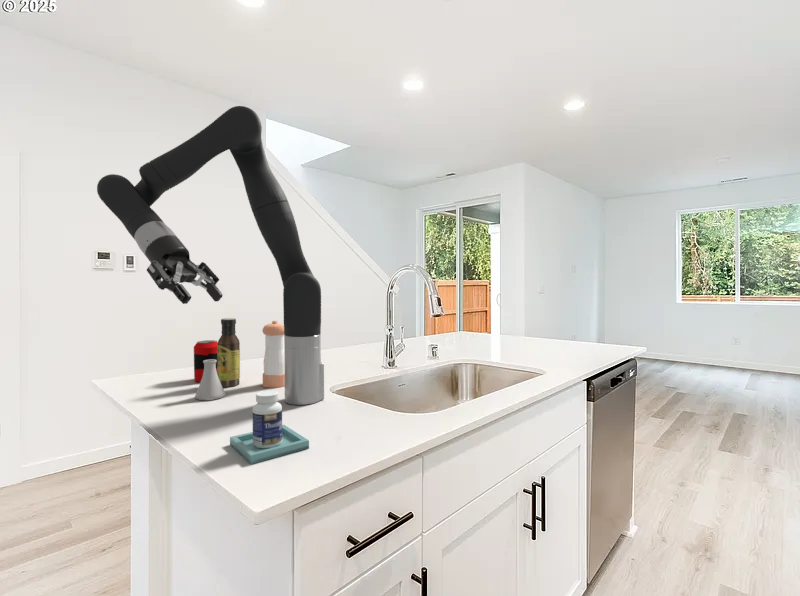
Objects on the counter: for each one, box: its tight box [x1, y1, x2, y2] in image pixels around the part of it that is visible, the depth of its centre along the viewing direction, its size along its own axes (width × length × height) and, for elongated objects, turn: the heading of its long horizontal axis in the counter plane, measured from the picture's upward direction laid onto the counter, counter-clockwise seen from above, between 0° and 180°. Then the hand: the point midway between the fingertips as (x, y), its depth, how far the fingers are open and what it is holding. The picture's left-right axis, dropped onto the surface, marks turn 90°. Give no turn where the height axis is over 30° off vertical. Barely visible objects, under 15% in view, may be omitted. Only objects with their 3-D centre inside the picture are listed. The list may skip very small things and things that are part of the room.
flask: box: [194, 359, 227, 401], centre depth 115 cm, size 7×7×10 cm
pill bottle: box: [252, 390, 283, 449], centre depth 81 cm, size 5×5×10 cm
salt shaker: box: [261, 320, 285, 389], centre depth 128 cm, size 7×7×19 cm
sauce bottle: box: [217, 317, 241, 388], centre depth 127 cm, size 6×6×20 cm
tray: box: [229, 424, 310, 465], centre depth 82 cm, size 11×11×2 cm
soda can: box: [193, 339, 218, 383], centre depth 134 cm, size 8×8×12 cm
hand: (204, 299), depth 90 cm, fingers open, 8 cm apart
